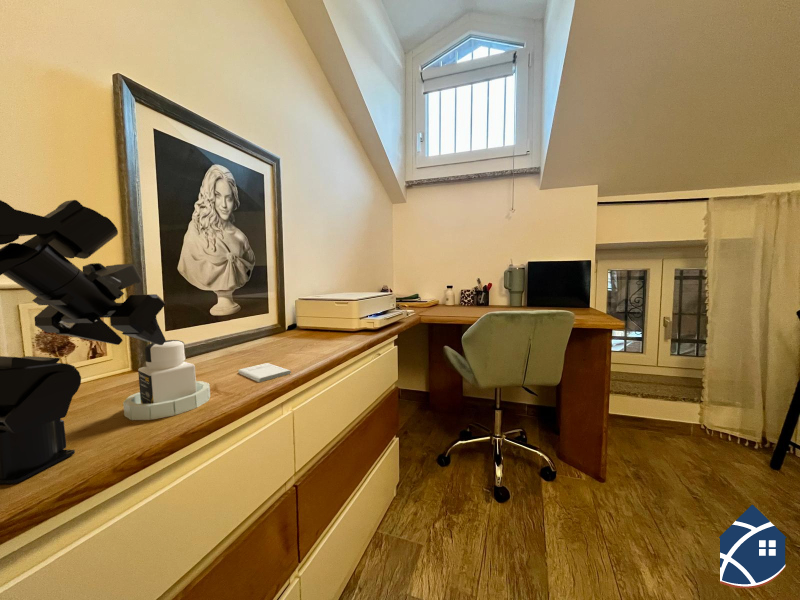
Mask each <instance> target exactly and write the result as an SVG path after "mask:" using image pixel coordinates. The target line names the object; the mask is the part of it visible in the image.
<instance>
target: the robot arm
mask: <svg viewBox="0 0 800 600" xmlns="http://www.w3.org/2000/svg"><path fill="white" fill-rule="evenodd" d="M118 231H119V230H118V228H117V227H116V225H115V224H114V222H112V220H111V219H110V218H108V217H107V216H104V215H103V214H101V213H100V212H98V211H96V210H95V209H92V208H91V207H86V206H84V205H83V204H81V202H80V201H79V200H77V199H71V200H65V201H64V202H62V203H60V204H59V205H58V206H57V208H56V209H54V210H53V211H51V212H48V213H47V214H46V215H44V216H42V215H38V214H35V213H31V212H26V211H23V210H18V209H15V208H14V207H13V206H11V205H10V204H9V203H7V202H5V201H3V200H2V199H0V245H1V246H2V245H4V246H2V247H1V248H0V276H2V275H4V276H5V277H7V278H8V279H10V281H13V282H14V283H16V284H17V285H19V286H21V288H23V289H25V290H26V291H28V292H29V293H31V294H32V295H33V296H34V297H35V296H36V297H35V298H33V299H32V302H34V303H35V304H37V305H38V306H46V307H45V308H44V309H43V310H40V312H39V313H38V314H36V315H35V316H34V326H35V327H37V328H38V329H40V330H42V331H44V332H45V333H50V334H53V333H54V334H56V335H59V336H66V337H72V338H78V339H83V340H89V341H94V342H95V341H96V342H100V343H105V344H112V345H116V346H118V345H119V346H120V344H121V343H122V342H123V339H122V337H121V336H120V335H119V334H118V333H117V332H116V331H119V332H121V334H122V335H123V336H126V337H129V338H130V337H131V338H135V339H138V340H141V341H144V342H148V343H149V344H151V343H154V344H157V345H163V344H164V342H165V341H166V340H167V339H166V338H165V336H164V334H163V331H162V329H161V327H160V325H159V323H158V320H157V319H158V318H157V315H159V313H160V312H161V311H162V309H163V308H164V307H165V306H166V302H165V300H163V299H162V298H161V297H160V296H159V295H158V293H157V294H152V293H151V294H131V295H129V296H128V297H127V298H126V299H125V300H124V301H123V302H116V300H118V299H121V297H122V296H123V295H124V294H125V293H124V292H123V291H122V290H124V289H126V288H129V287H131V286H134V285H135V284H140V283H142V282H143V279H142V277H141V276H140V274H139V272H138V270H137V268H136V266H135V264H133V263H124V264H123V263H122V264H117V263H116V264H112V265H106V266H105V265H103V264H102V263H99V262H98V263H97V262H95V263H93V262H92V263H88V264H85V265H82V270H81V269H80V268H79V267H77V266H76V265H75V264H74V263H73V262H71V260H69V259H74V258H78V259H83V260H85V259H88V258H89V257H91V256H93V255H94V254H95V253H96V252H97V251H98V250H100V249H101V248H102V247H104V246H106V244H108V243H109V242H110V241H111V240H113V239H114V238H115V237H117V236H118V234H119V232H118ZM25 236H33V237H31V238H30V239H28V240H26V241H25V242H23V243H18V242H17V243H16V242H15V241H17V240H19V239H20V237H25ZM102 318H105V319H106V318H109V321H110V322H109V324H110V326H111V327H112V328H111V327H110V326H109V325H108V324H107V323H106V322H105V321H104V320H103V319H102ZM114 329H115V330H116V331H114ZM59 361H61V358H60V357H49V356H33V355H32V356H30V355H29V356H27V355H26V356H22V357H18V356H6V355H5V356H3V355H2V356H1V355H0V484H1V485H2V484H7V485H8V484H9V485H10V484H12V485H13V484H18V483H20V482H22V481H24V480H26V479H28V478H30V477H32V476H33V475H36V474H37V473H40V472H41V471H44V470H45V469H47V468H50V467H52V466H53V465H56V464H57V463H60V462H61V461H63V460H65V459H67V458H69V457H71V456H72V455H74V454H75V453H76V451H75V449H66V448H67V438H66V427H65V420H63V418H65V417H67V414H68V411H69V409H70V405H71V403H72V400H73V397H74V396H75V394H77V392H79V391H78V390H79V388H80V386H81V384H82V376H81V373H80V371H79V370H78V369H77V368H76V366H74V365H72V364H69V363H63V362H59Z"/></svg>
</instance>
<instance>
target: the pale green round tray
mask: <svg viewBox="0 0 800 600" xmlns="http://www.w3.org/2000/svg"><path fill="white" fill-rule="evenodd" d="M210 386H211V385H210V383H209V382H206V381H203V380H196V390H197V392H196V393H194V394H192V395H189V396H185V397H182V398H179V399H175V400H171V401H165V402H159V403H153V404H141V399H140V391H138V392H136V393H134V394H131V395H129V396H127V398H125V400H124V401H123V402H122V403H123V405H122V406H123V415H124V417H125V418H127V419H129V420H130V421H150V420H156V419H161V418H167V417H172V416H175V415H181V414H183V413H185V412H189V411H191V410H194V409H196V408H199V407H200V406H203V405H204V404H206V403H207V402H209V400H210V398H211V387H210Z"/></svg>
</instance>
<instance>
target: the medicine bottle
mask: <svg viewBox="0 0 800 600" xmlns="http://www.w3.org/2000/svg"><path fill="white" fill-rule="evenodd" d="M165 340H166V341H165V342H164V344H163V345H157V344H154V343H149V344H147V345H146V346H145V347H144V355H145V356H144V357H145V366H144V367H139V368H138V370H137V374H138V384H139V385H138V386H139V392H140V399H141V404H153V403H159V402H165V401H171V400H175V399H179V398H182V397H185V396H189V395H192V394H194V393H196V392H197V390H196V381H197V378H196V377H197V376H196V366H195V364H194V363H190V362H187V361H185V360H186V349H185V348H186V347H185V342H184V341H182V340H179V339H170V340H167V339H165Z"/></svg>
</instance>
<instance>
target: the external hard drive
mask: <svg viewBox="0 0 800 600" xmlns="http://www.w3.org/2000/svg"><path fill="white" fill-rule="evenodd" d="M237 371H238V374H239V375H241V376H244V377H246V378H248V379H250V380H253V381H255V382H257V383H263V382H267V381H270V380H274V379H278V378H281V377H284V376H283V375H285V376H288V375H287V374H289V375H291V374H292V371H291V370H290V369H287V368H283V367H281V366H277V365H275V364H272V363H268V362H266V363H261V364H257V365H253V366H248V367H243V368H240V369H238V370H237ZM290 373H291V374H290ZM280 376H281V377H280ZM277 377H278V378H277ZM273 378H274V379H273ZM266 380H267V381H266Z"/></svg>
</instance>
